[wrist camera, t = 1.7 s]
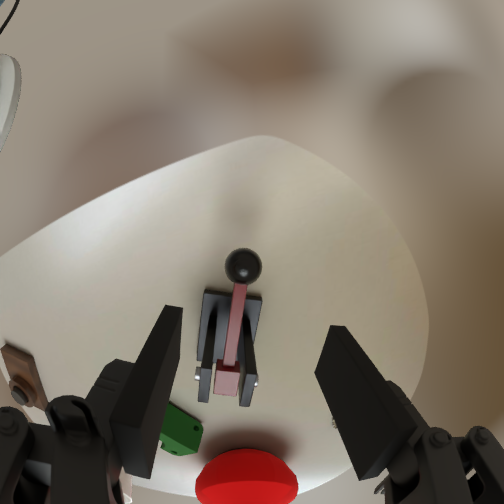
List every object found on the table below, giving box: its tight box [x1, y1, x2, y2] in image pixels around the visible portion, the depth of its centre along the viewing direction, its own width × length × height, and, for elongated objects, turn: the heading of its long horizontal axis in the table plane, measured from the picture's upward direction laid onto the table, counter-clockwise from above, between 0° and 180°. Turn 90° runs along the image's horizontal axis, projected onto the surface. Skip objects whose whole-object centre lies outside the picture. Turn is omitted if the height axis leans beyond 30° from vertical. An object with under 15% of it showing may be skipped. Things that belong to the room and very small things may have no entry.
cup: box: [119, 466, 132, 504], centre depth 35 cm, size 10×10×11 cm
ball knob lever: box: [213, 248, 262, 396], centre depth 24 cm, size 14×3×3 cm, turn 170°
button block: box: [0, 344, 48, 411], centre depth 33 cm, size 13×8×4 cm, turn 170°
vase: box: [195, 449, 298, 504], centre depth 32 cm, size 18×18×19 cm
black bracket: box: [195, 289, 262, 407], centre depth 29 cm, size 10×7×12 cm
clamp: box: [159, 403, 203, 456], centre depth 35 cm, size 12×6×9 cm, turn 38°
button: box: [11, 386, 28, 405], centre depth 31 cm, size 4×4×2 cm
